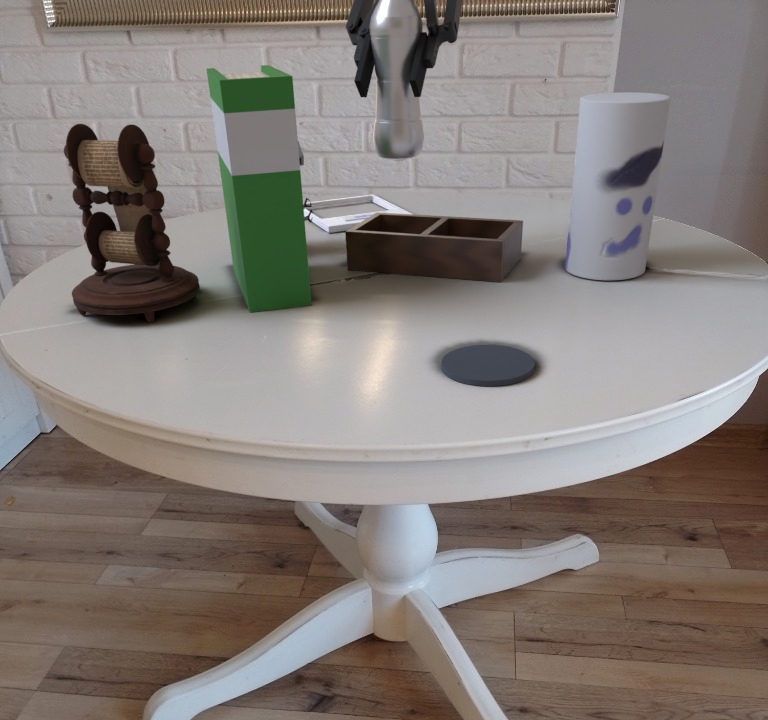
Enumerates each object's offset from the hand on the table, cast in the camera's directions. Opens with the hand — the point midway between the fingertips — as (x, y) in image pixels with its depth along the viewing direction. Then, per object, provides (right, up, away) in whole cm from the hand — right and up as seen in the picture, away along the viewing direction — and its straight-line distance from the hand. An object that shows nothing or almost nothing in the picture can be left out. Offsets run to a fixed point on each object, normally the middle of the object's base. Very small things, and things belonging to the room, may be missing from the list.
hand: (387, 88), depth 94 cm
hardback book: (-15, -22, +7) cm, 27 cm away
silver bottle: (+2, -5, +7) cm, 9 cm away
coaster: (+10, -36, -17) cm, 41 cm away
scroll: (-30, -25, +2) cm, 39 cm away
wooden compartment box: (+6, -17, +13) cm, 22 cm away
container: (+28, -19, +8) cm, 35 cm away
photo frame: (-6, -1, +38) cm, 38 cm away
